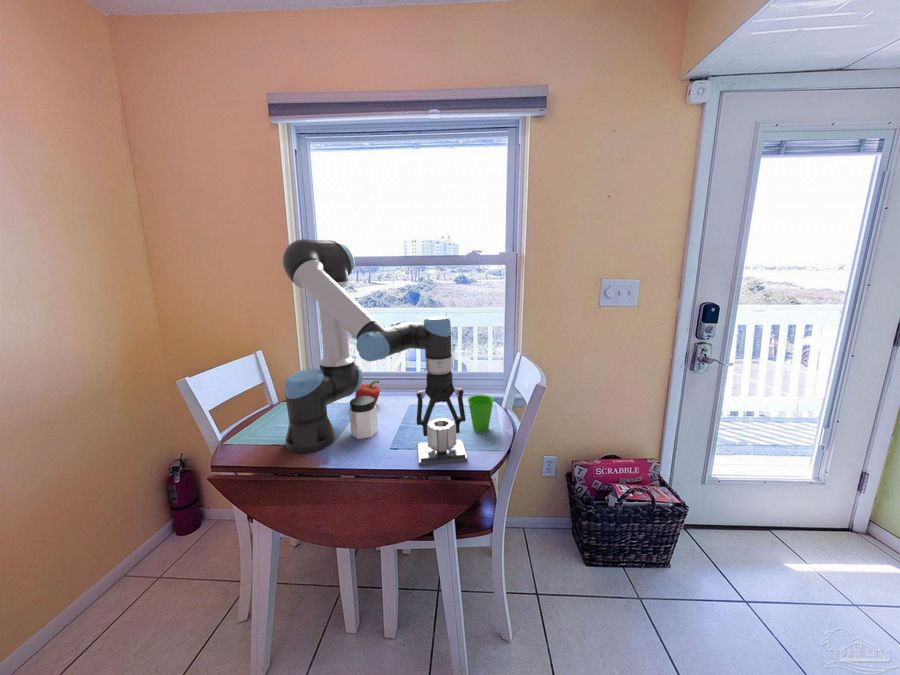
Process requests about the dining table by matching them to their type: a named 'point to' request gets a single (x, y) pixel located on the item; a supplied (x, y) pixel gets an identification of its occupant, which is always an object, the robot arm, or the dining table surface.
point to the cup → (480, 411)
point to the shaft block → (441, 454)
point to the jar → (363, 417)
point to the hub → (441, 434)
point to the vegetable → (368, 391)
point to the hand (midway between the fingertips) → (441, 443)
